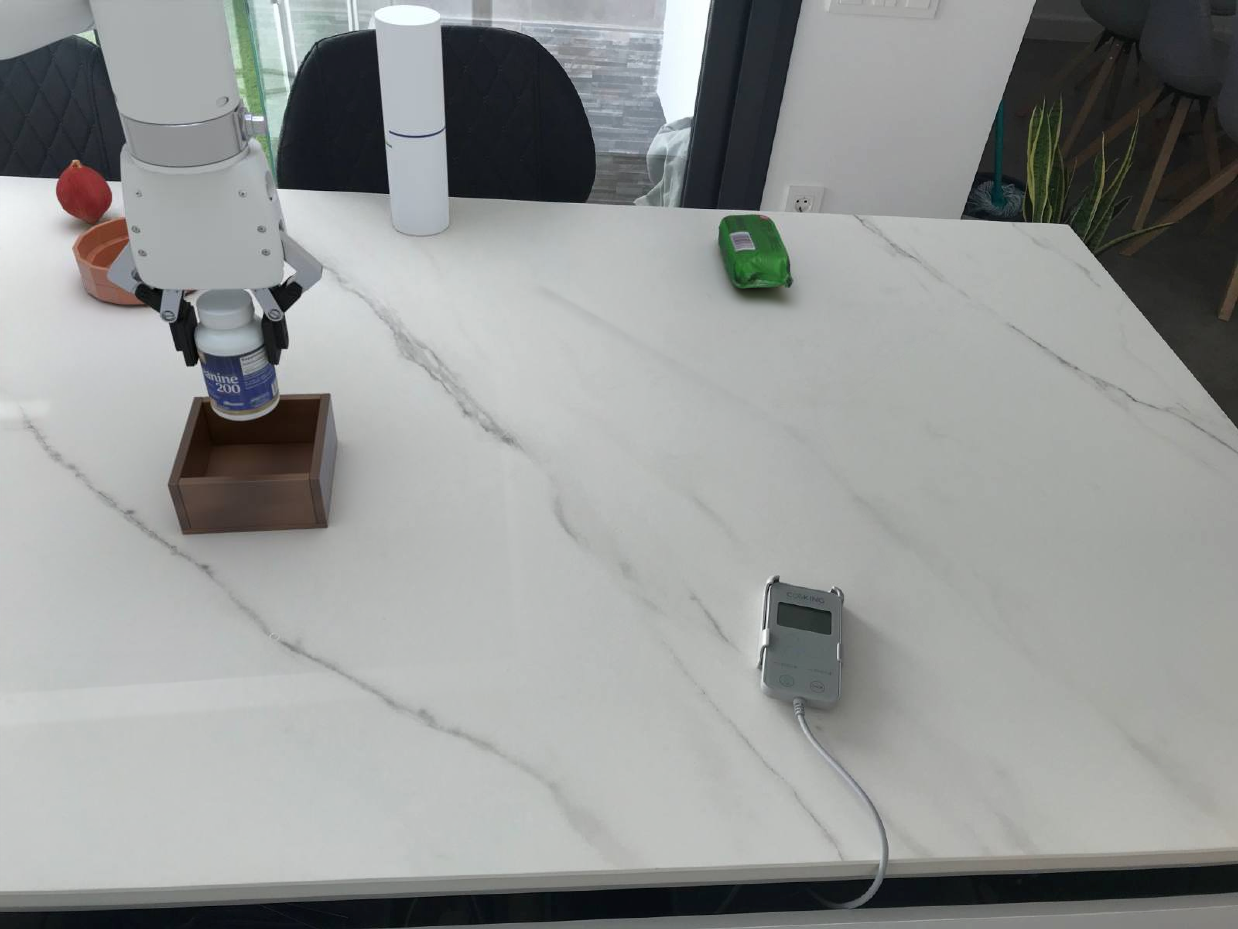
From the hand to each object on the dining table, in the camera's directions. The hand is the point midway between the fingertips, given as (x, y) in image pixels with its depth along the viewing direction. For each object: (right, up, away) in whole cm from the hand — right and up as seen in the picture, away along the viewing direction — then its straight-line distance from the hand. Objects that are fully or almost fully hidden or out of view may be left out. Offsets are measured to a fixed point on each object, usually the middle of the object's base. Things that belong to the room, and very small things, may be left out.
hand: (235, 353), depth 77 cm
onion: (-34, +20, +42) cm, 57 cm away
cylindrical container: (+5, +22, +48) cm, 53 cm away
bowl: (-23, +12, +33) cm, 42 cm away
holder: (-1, -10, +9) cm, 14 cm away
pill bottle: (0, -4, +3) cm, 5 cm away
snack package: (+46, +15, +44) cm, 66 cm away
